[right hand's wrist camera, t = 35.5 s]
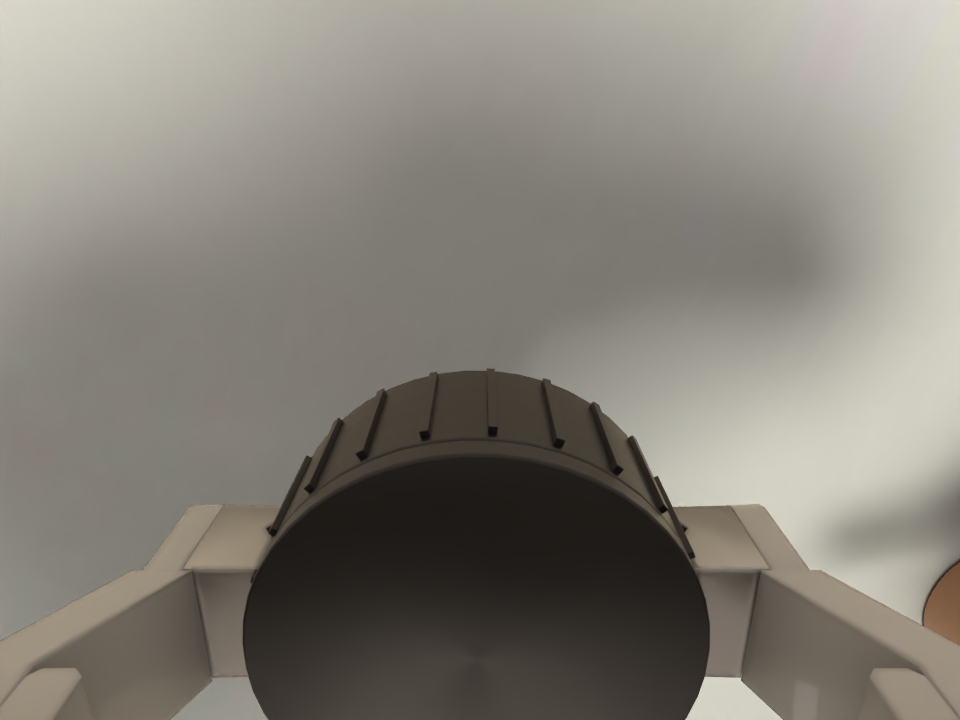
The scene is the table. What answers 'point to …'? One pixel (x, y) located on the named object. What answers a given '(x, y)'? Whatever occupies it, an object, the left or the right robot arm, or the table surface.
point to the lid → (476, 566)
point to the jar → (945, 606)
